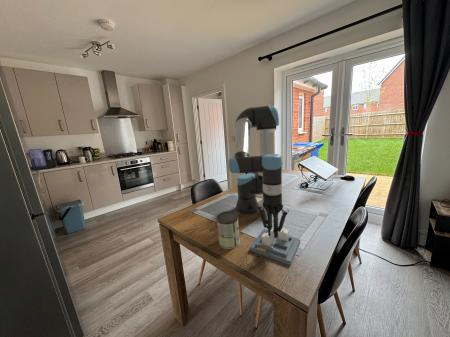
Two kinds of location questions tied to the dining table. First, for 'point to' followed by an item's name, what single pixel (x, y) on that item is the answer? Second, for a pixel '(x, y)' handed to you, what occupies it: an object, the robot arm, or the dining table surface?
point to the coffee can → (228, 230)
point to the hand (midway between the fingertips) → (273, 242)
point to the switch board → (277, 248)
